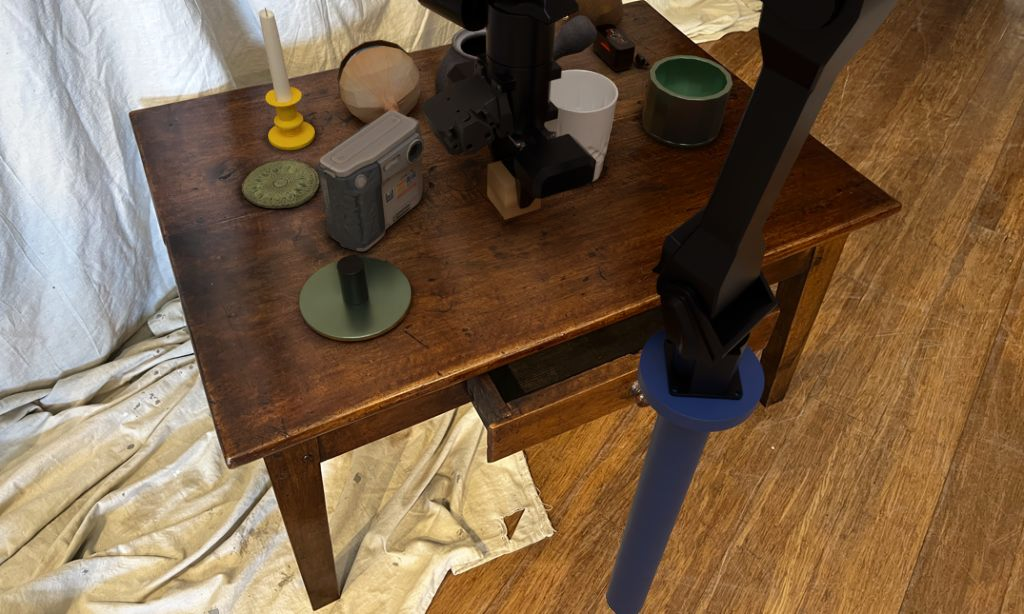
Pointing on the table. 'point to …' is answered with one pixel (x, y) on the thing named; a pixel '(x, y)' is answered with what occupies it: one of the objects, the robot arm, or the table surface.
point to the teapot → (471, 44)
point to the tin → (685, 101)
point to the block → (505, 191)
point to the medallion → (281, 184)
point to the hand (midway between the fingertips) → (514, 194)
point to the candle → (283, 93)
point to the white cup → (585, 110)
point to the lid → (355, 298)
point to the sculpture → (378, 80)
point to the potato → (600, 11)
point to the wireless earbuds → (616, 48)
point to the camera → (371, 180)
